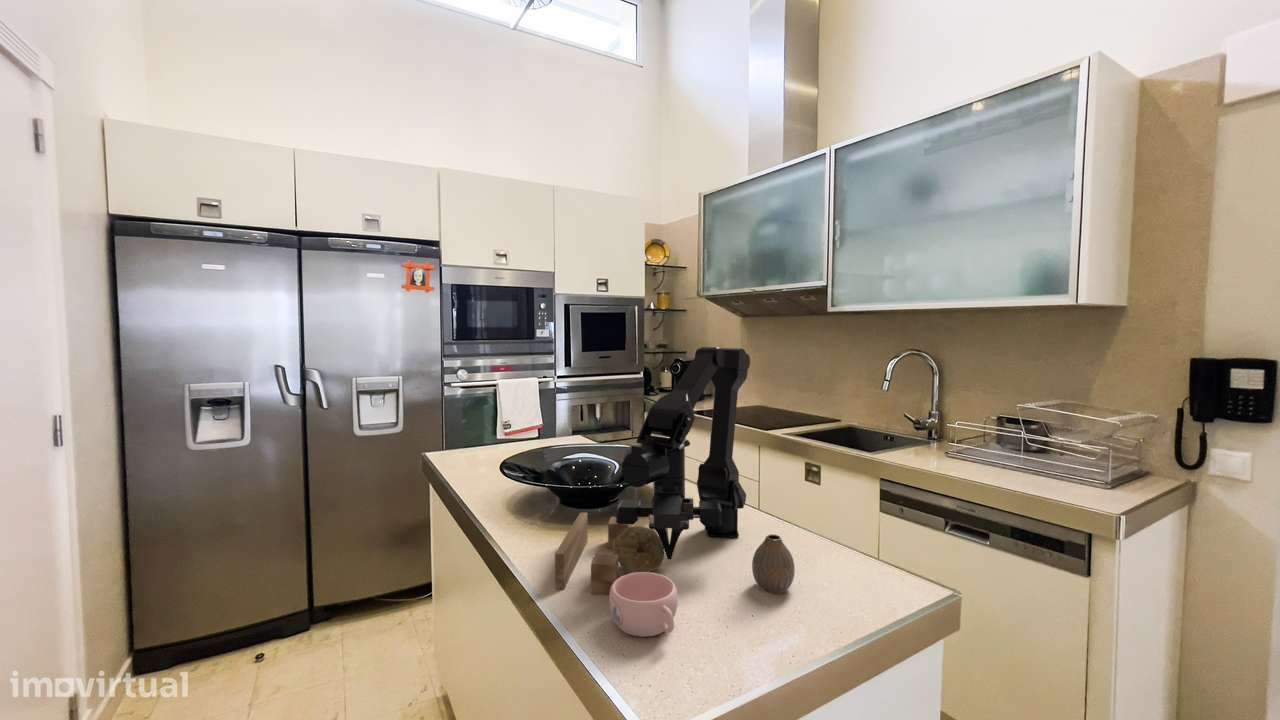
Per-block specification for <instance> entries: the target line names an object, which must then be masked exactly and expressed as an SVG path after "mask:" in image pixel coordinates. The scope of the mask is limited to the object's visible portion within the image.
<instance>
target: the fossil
mask: <svg viewBox="0 0 1280 720" xmlns="http://www.w3.org/2000/svg"><path fill="white" fill-rule="evenodd" d="M612 551H613V554H615V555H619V564H620V566H621V567H622V569H623V571H624V572H625V573H626V574H630V573H636V572H652V571H656V570H657V569H659V568H660V567H661V565H662V564H663V562H664V560H665V550H664V547H663V544H662V542H661V539H660V537H659V535H658V533H657V532H656V530H655V529H650V528H649V527H647V526H642V525H631V527H628V528H627V529H626V530H625V531H624V532H623V533H622V534H621V535H620V536H618V537H616V538H615V540H614V542H613V549H612Z"/></svg>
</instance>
